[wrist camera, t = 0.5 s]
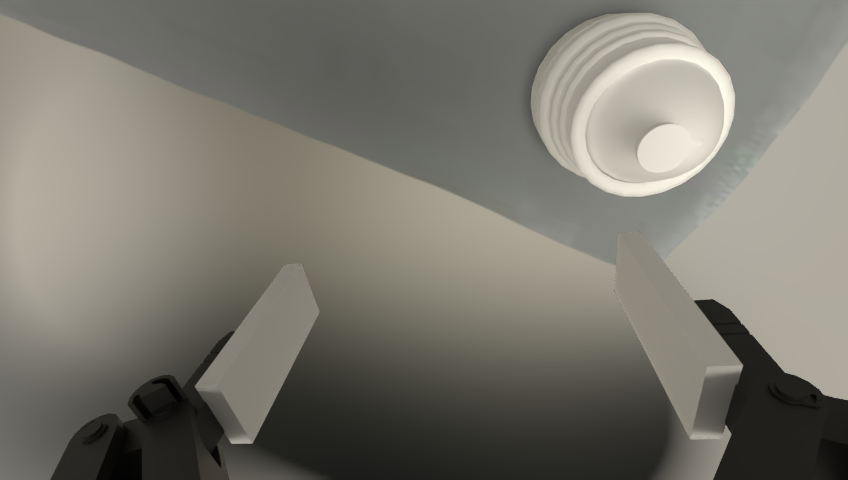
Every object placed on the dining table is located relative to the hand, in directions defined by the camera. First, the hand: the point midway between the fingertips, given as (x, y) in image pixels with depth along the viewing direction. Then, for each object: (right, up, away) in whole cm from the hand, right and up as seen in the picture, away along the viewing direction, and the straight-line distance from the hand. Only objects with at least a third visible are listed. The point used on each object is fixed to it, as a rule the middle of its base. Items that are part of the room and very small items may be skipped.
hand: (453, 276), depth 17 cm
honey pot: (+15, +15, +20) cm, 29 cm away
